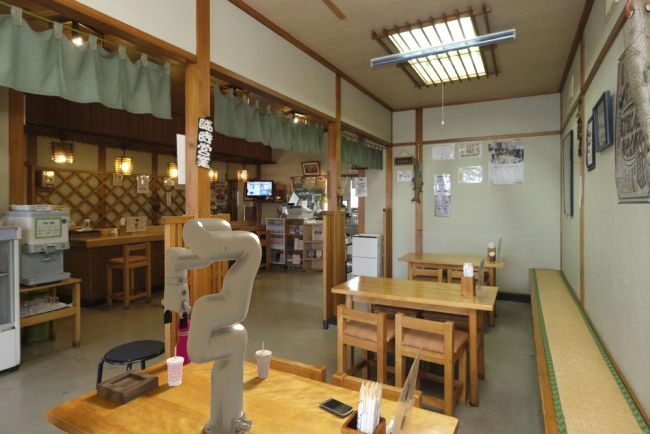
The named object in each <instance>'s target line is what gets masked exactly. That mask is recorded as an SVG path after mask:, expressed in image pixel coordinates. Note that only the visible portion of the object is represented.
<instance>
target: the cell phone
mask: <svg viewBox="0 0 650 434" xmlns="http://www.w3.org/2000/svg"><path fill="white" fill-rule="evenodd" d="M318 405H319V407H320V408H322V409H324V410H326V411H328V412H329V413H332V414H334V415H336V416H338V417H340V418H345V417H347V416H349V415H351V414H352V413H353V412H354V410H355V408H354V407H353V406H351V405H348V404H346V403H344V402H342V401H339V400H337V399H335V398H333V397H330V398H328V399H327V400H325V401H323V402H321V403H319V404H318ZM351 412H352V413H351Z"/></svg>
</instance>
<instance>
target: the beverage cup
mask: <svg viewBox="0 0 650 434" xmlns="http://www.w3.org/2000/svg"><path fill="white" fill-rule="evenodd" d="M176 346H177V345H176ZM176 346H174V356H173V357H169V358H167V359H166V364H167V381H168V382H167V383H168V386H169V387H176V386H179V385H181V384H182V379H183V369H184V368H183V367H184V366H183V362H184V358H183V357H176Z"/></svg>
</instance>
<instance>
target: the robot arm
mask: <svg viewBox="0 0 650 434" xmlns="http://www.w3.org/2000/svg"><path fill="white" fill-rule="evenodd" d="M181 237H182V240H183V243H184V245H186V247H188V248H186V247H180V246H178V247H177V246H174V247H167V249H166V250H165V273H164V274H165V277H164V278H165V279H164V280H165V281H164V283H165V284H164V292H163V293H164V294H163V298H162V299H161V300H160V301H161V305H162V306H161V307H162V313H163V324H164V325H167V324H171V323H173V312H174V313H178V316H179V319H178V321H179V329H184V328H187V327H188V320H189V317H190V327H189V334H188V341H187V353H188V357H189V359H190V360H191V363H193V364H195V365H202V364H206V363H207V364H208V363H210V362H213V361H214V362H213V364H212V367H211V371H210V410H209V411H210V413H209V416H210V418H209V419H208V420H207V421H206V422H205V425H204V432H205V434H243V433H244V432H246V433H249V432H250V431H251V429H252V424H253V420H251V419H248V418H247V416H246V415H247V414H246V413H247V412H245V411H243V410H244V369H245V368H244V366H245V357H246V350H247V346H248V339H249V338H248V331H247V329H246V328H245V326H244V325H243V324H242V322H243V321H244V320H245V319H246V318H247V316H248V313H249V307H250V304H251V303H250V302H251V298H252V297H251V296H252V294H253V293H252V292H253V286H254V282H255V279H256V276H257V273H258V270H259V268H260V265H261V261H262V256H263V251H262V250H263V249H262V244H261V240H260V239H259V237H258V236H257V235H256V234H255V233H254V232H251V231H248V230H232V226H231V224H230V223H229V222H228V221H227V220H225V219H223V218H219V217H218V218H216V217H201V218H200V217H198V218H197V217H196V218H195V217H194V218H191V219H189V220H188V221H186V222H185V224H184V225H183V228H182V232H181ZM225 261H235V262H234V263H233V264H232V265H231V266H230V268H229V269H228V270H227V272H226V273H225V275H224V277H223V281H222V287H221V290H220V291H219V292H217V293H212V294H205V295H202V296H200V297H199V298H197V300H196V301H195V303H194V304H193V305H192V306H191V305H190V293H189V285H188V282H187V281H188V270H196V269H197V270H198V269H204V268H207V267H208V266H210V265H212V264H213V263H214V262H225ZM190 315H191V316H190Z"/></svg>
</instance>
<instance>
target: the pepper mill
mask: <svg viewBox="0 0 650 434" xmlns="http://www.w3.org/2000/svg"><path fill="white" fill-rule="evenodd" d="M190 321H191V319H188V327H187V328H184V329H179V320H178V321H177V322H176V329H177V336H178V342H177V345H176V357H183V358H184V362H183V365H184V366H185V365H188V364H190V363H192V361H191V360H190V359H189V357H188V353H187V341H188V334H189V327H190Z"/></svg>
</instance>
